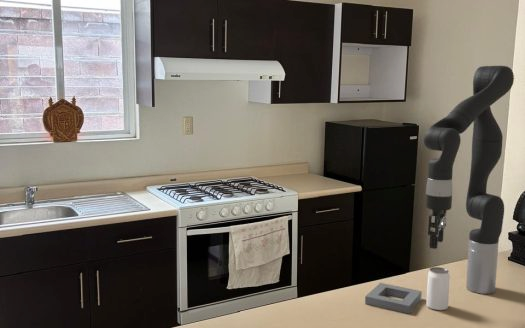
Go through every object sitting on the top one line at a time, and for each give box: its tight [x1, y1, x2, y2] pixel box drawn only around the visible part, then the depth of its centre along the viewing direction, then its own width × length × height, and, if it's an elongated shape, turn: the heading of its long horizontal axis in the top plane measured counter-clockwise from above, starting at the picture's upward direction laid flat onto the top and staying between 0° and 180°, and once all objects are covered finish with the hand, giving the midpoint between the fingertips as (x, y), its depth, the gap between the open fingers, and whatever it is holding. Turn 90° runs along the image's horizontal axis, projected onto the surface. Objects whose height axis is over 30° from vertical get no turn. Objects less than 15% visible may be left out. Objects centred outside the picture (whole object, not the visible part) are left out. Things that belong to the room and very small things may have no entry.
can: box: [425, 266, 451, 312], centre depth 166 cm, size 6×6×12 cm
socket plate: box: [364, 282, 423, 315], centre depth 171 cm, size 14×14×2 cm
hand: (436, 244), depth 164 cm, fingers open, 8 cm apart
